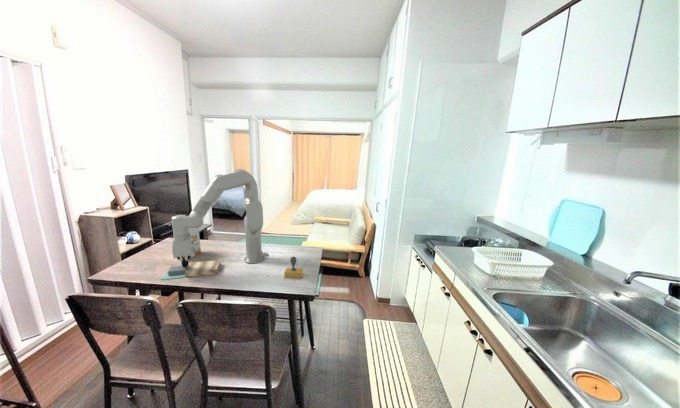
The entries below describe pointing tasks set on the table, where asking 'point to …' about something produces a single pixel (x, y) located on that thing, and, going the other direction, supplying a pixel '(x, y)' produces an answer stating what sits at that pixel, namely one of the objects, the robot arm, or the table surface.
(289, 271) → the rubber stamp
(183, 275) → the mat
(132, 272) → the table surface
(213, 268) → the deck
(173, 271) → the blue-grey flat block
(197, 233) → the cracker box
